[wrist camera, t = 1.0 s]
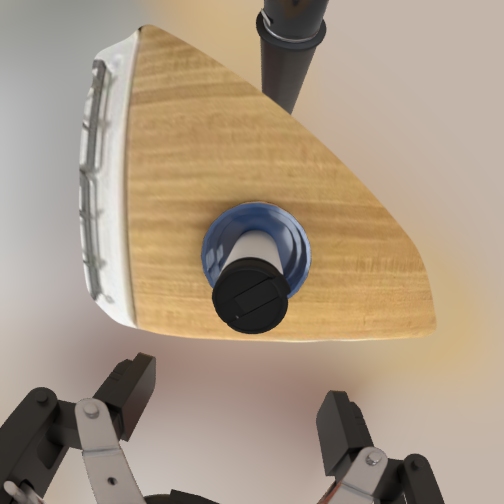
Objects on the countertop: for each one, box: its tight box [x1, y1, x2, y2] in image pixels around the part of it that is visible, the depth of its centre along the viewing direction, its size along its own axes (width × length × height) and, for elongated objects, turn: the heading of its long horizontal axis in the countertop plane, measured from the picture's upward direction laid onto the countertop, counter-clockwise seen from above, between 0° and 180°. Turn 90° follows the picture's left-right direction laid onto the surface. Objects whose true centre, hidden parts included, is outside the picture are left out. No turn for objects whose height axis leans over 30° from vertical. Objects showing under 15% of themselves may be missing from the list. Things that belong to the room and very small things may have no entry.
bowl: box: [201, 201, 311, 299], centre depth 38 cm, size 14×14×6 cm
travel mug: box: [212, 229, 291, 334], centre depth 31 cm, size 6×7×20 cm
